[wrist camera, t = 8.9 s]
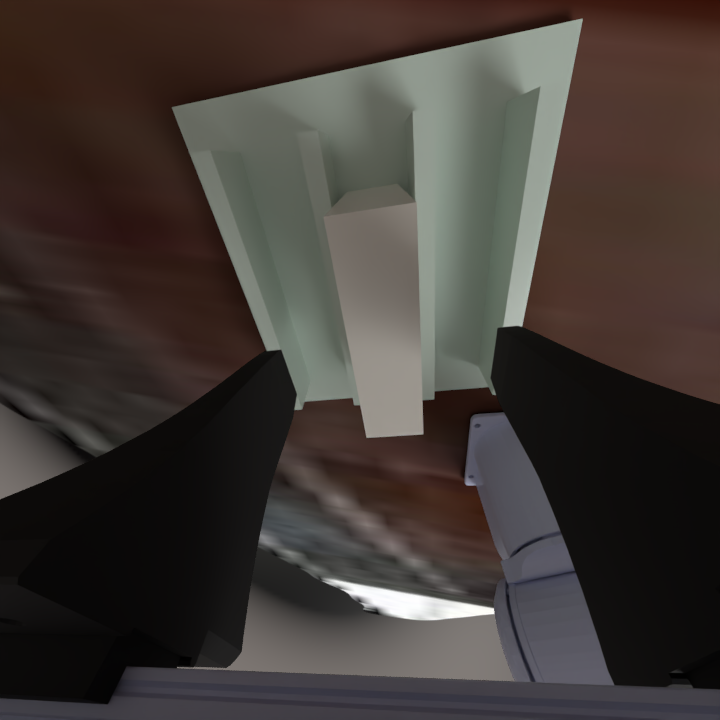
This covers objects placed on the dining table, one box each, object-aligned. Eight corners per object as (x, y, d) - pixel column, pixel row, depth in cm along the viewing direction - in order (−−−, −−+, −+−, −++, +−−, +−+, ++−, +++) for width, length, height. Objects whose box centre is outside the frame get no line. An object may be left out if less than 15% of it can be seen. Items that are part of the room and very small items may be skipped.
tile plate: (406, 340, 19) (423, 434, 12) (369, 344, 19) (366, 437, 13) (397, 183, 14) (416, 202, 7) (347, 192, 14) (323, 216, 8)
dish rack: (507, 381, 21) (528, 415, 18) (288, 398, 23) (276, 432, 20) (575, 23, 11) (644, -25, 8) (177, 109, 13) (122, 93, 10)
